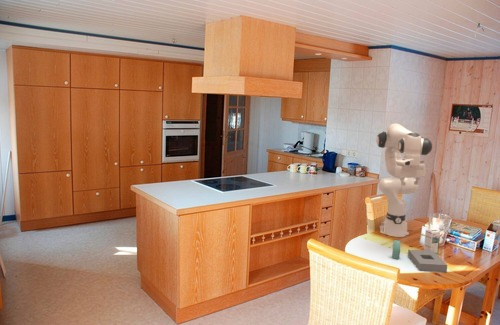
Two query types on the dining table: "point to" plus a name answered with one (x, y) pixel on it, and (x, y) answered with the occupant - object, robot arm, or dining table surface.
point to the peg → (396, 249)
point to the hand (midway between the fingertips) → (409, 185)
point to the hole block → (427, 261)
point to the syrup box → (432, 240)
